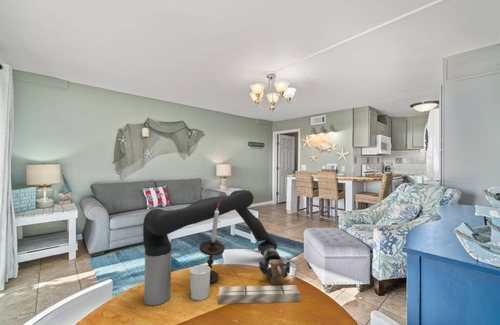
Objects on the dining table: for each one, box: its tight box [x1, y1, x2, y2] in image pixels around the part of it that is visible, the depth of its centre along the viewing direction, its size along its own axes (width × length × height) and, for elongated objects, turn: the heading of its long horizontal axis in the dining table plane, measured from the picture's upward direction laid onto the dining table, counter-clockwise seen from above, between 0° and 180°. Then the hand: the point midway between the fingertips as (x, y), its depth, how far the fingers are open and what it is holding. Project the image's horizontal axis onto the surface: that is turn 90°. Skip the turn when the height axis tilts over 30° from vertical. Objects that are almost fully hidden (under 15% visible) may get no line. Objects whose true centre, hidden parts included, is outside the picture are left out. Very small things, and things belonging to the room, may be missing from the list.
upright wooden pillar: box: [270, 258, 285, 286], centre depth 88 cm, size 5×9×11 cm, turn 3°
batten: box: [217, 284, 301, 305], centre depth 85 cm, size 30×6×3 cm, turn 93°
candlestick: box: [199, 202, 226, 285], centre depth 97 cm, size 11×11×35 cm
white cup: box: [189, 264, 211, 301], centre depth 86 cm, size 8×8×10 cm
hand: (278, 275), depth 88 cm, fingers closed on upright wooden pillar, 5 cm apart
